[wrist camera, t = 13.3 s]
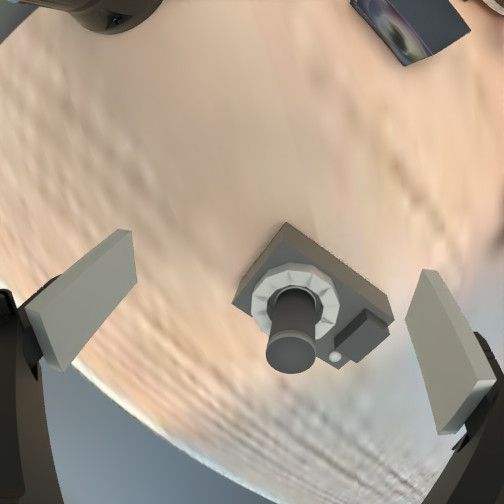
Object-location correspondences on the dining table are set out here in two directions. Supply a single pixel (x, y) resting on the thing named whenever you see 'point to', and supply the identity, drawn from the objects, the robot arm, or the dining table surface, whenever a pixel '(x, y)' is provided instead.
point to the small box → (413, 25)
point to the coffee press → (495, 5)
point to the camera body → (318, 297)
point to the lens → (292, 331)
